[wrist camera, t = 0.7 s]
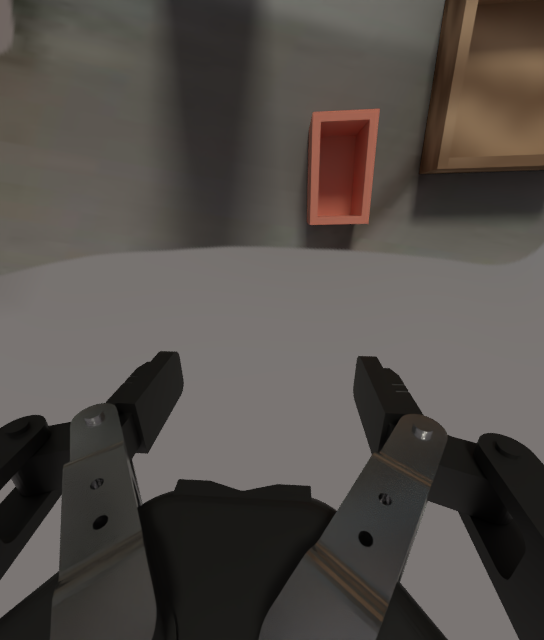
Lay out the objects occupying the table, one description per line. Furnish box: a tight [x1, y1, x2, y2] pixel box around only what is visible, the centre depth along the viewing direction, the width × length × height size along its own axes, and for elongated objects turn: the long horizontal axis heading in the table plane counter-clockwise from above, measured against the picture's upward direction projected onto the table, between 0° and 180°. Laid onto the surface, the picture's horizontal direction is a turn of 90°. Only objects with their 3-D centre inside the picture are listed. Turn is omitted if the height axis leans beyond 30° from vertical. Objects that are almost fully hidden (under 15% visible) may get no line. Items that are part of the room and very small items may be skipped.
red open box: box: [307, 109, 380, 225], centre depth 28 cm, size 9×6×6 cm, turn 1°
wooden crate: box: [419, 0, 544, 174], centre depth 25 cm, size 14×14×4 cm
